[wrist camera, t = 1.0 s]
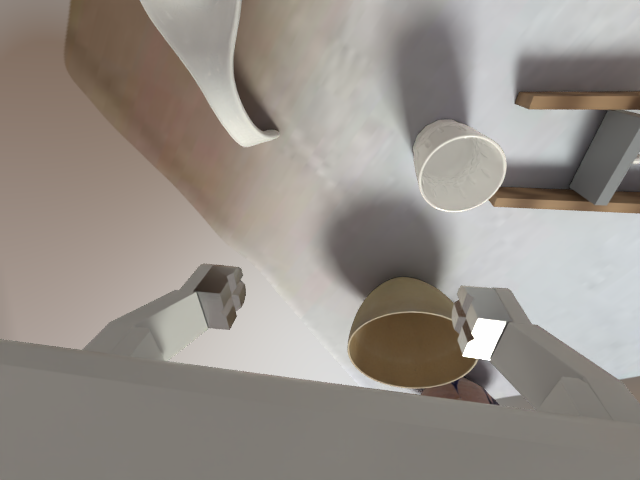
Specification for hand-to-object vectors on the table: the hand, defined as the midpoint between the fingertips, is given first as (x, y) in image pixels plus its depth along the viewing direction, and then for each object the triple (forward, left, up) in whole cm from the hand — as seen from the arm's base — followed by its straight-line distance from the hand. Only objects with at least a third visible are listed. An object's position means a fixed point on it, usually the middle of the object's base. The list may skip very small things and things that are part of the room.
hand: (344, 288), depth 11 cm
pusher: (+3, +29, -30) cm, 42 cm away
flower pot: (+29, +9, -30) cm, 43 cm away
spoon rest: (-9, -16, -31) cm, 36 cm away
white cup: (+3, +10, -30) cm, 32 cm away
